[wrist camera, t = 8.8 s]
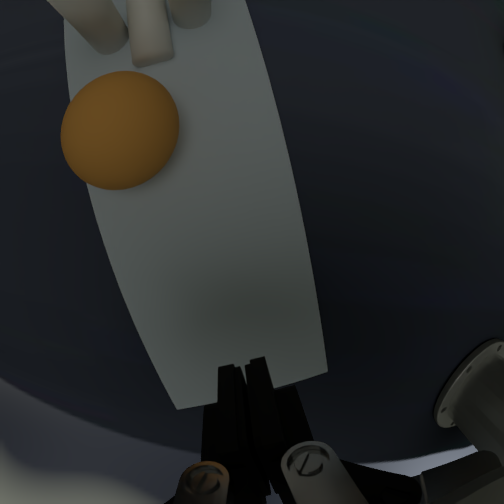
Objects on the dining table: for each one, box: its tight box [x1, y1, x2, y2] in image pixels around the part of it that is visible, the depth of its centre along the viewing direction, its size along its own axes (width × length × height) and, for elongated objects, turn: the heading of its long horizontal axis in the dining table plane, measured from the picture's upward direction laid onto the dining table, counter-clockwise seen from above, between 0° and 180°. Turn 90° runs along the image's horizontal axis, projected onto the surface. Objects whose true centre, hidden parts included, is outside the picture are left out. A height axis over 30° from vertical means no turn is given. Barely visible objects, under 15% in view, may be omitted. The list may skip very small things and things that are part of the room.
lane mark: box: [64, 0, 328, 409], centre depth 17 cm, size 31×12×1 cm, turn 13°
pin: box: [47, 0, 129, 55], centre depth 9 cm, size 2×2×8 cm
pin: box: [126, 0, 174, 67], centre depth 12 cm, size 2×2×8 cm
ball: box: [61, 71, 179, 190], centre depth 13 cm, size 6×6×6 cm
